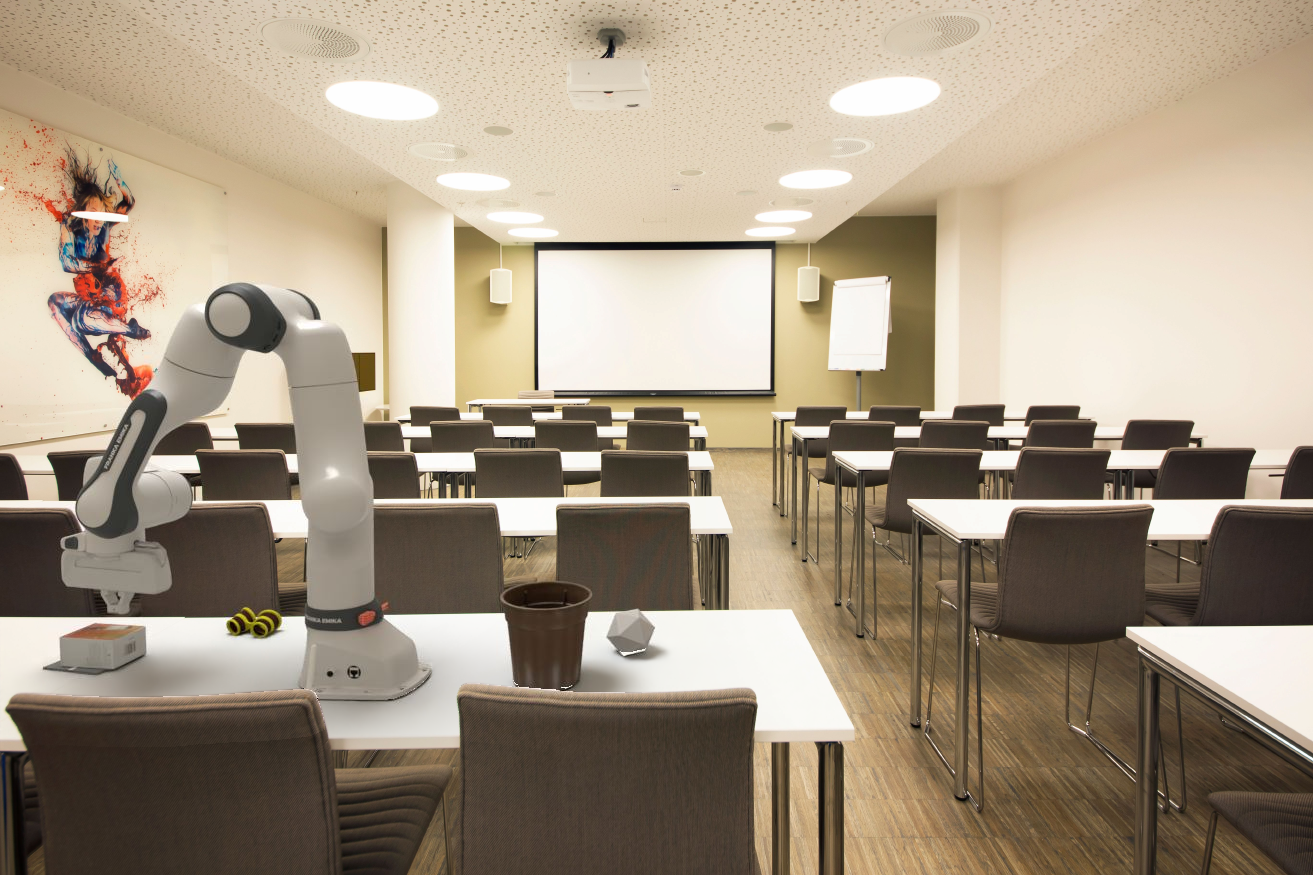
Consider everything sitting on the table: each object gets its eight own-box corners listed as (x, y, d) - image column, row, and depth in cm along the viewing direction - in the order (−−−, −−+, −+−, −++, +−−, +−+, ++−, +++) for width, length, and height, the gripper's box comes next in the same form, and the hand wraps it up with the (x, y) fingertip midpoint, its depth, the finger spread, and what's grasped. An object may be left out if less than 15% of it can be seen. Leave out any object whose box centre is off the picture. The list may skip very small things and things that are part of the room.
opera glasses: (226, 638, 152) (221, 617, 151) (245, 625, 157) (240, 604, 156) (266, 642, 150) (262, 621, 149) (284, 629, 155) (280, 608, 154)
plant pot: (524, 708, 122) (525, 614, 120) (485, 674, 135) (485, 589, 133) (607, 685, 131) (609, 597, 130) (563, 656, 144) (564, 576, 143)
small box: (113, 640, 132) (57, 637, 132) (114, 670, 132) (59, 666, 133) (146, 624, 140) (94, 621, 140) (147, 653, 140) (95, 650, 141)
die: (652, 664, 143) (666, 615, 148) (615, 647, 140) (630, 597, 144) (630, 665, 150) (644, 618, 155) (594, 648, 147) (609, 601, 151)
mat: (145, 654, 141) (144, 651, 141) (96, 675, 131) (96, 672, 131) (94, 648, 143) (94, 646, 143) (43, 669, 133) (42, 666, 133)
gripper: (179, 539, 135) (181, 612, 136) (85, 531, 138) (88, 603, 140) (150, 546, 129) (152, 623, 130) (52, 539, 132) (55, 613, 133)
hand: (118, 612), depth 135 cm, fingers closed
